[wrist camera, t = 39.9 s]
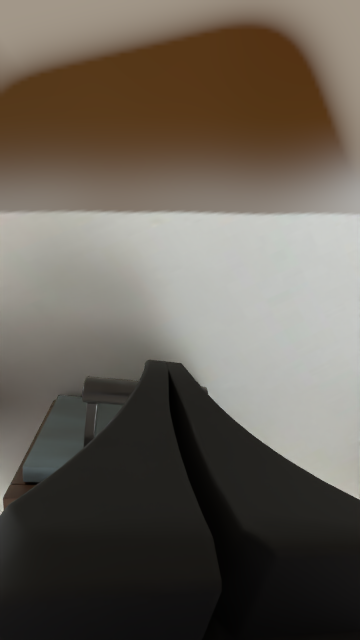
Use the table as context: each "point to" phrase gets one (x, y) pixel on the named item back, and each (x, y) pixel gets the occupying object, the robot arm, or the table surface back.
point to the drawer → (75, 424)
